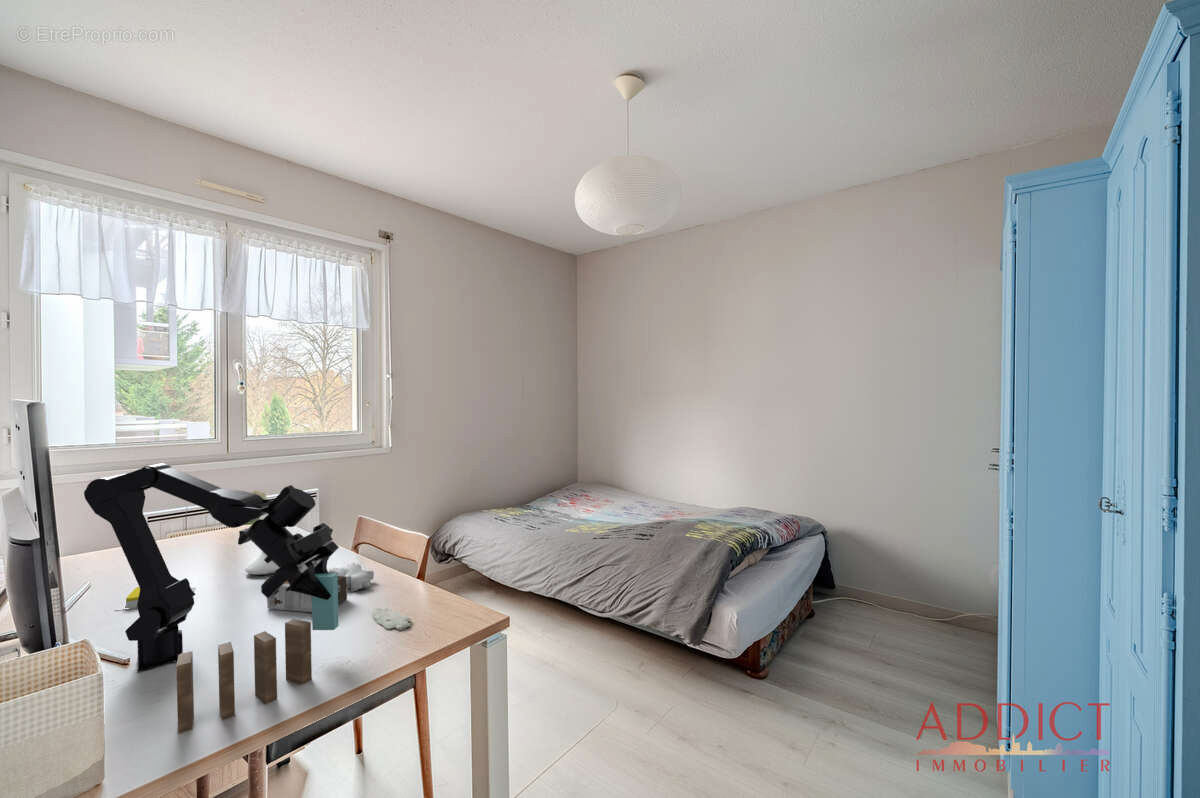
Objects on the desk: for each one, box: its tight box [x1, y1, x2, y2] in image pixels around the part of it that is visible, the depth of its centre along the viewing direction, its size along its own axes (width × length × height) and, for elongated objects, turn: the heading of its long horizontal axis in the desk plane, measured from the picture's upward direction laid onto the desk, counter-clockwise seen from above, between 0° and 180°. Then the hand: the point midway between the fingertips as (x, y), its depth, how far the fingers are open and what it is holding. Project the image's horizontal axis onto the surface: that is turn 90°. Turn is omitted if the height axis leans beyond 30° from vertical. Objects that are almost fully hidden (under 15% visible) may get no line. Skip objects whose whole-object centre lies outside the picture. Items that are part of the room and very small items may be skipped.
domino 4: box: [284, 618, 313, 686], centre depth 96 cm, size 2×4×11 cm, turn 71°
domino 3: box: [253, 630, 278, 705], centre depth 91 cm, size 2×4×11 cm, turn 55°
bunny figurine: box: [328, 562, 375, 592], centre depth 144 cm, size 10×5×15 cm
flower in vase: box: [244, 490, 279, 576], centre depth 153 cm, size 13×11×25 cm
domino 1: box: [175, 650, 195, 734], centre depth 84 cm, size 2×4×11 cm, turn 36°
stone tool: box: [371, 607, 412, 631], centre depth 121 cm, size 6×2×15 cm
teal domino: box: [311, 573, 339, 631], centre depth 105 cm, size 2×4×11 cm, turn 90°
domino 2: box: [217, 641, 236, 721], centre depth 87 cm, size 2×4×11 cm, turn 41°
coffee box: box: [266, 576, 348, 613], centre depth 130 cm, size 9×6×16 cm
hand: (332, 595), depth 105 cm, fingers closed on teal domino, 2 cm apart
